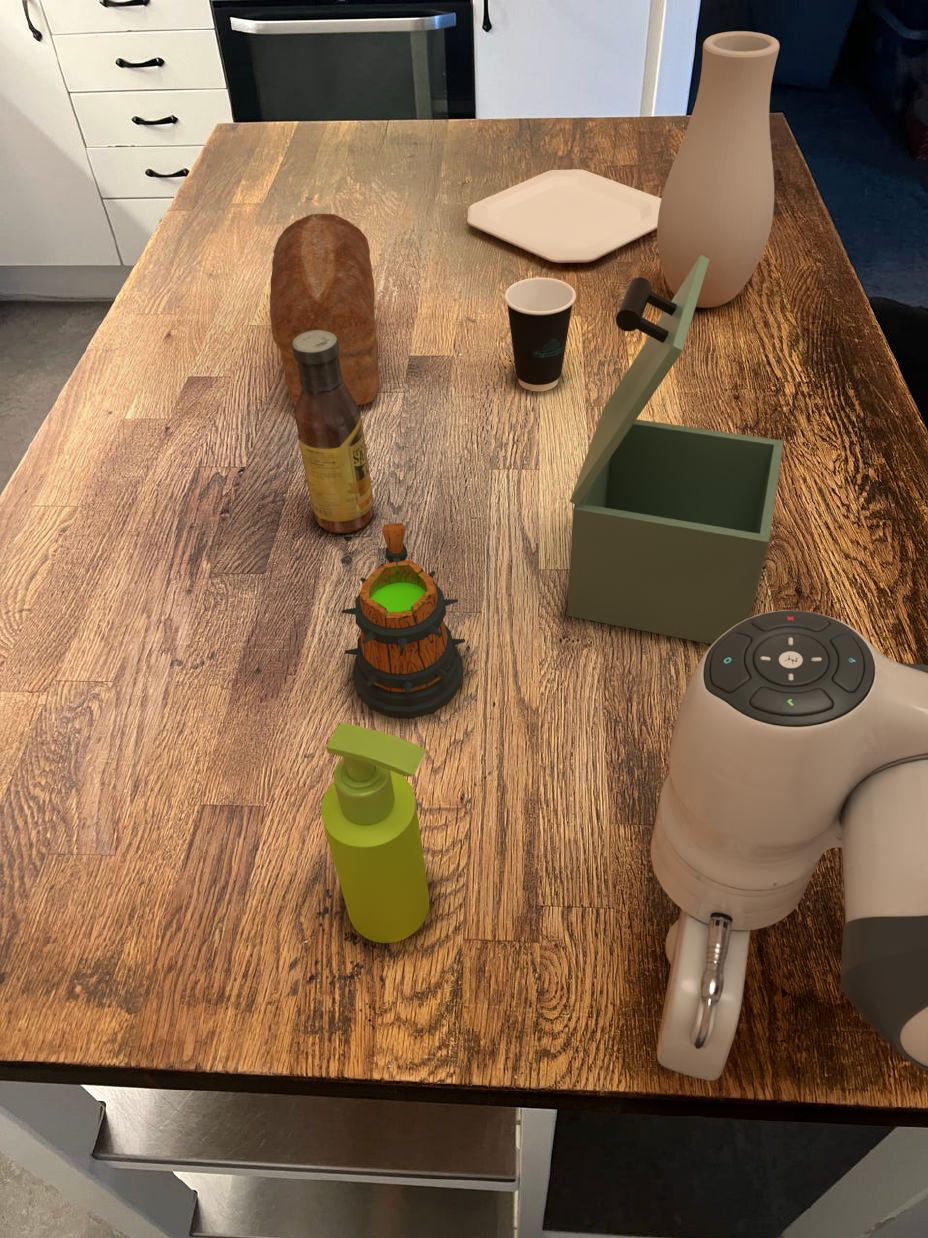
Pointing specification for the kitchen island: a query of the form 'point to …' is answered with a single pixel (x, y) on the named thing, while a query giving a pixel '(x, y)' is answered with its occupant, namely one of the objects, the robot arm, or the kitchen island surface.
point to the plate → (567, 215)
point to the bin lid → (641, 365)
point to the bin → (675, 531)
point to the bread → (326, 299)
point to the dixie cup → (539, 329)
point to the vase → (722, 171)
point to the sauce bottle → (331, 437)
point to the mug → (403, 637)
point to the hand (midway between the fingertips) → (698, 951)
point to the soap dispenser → (376, 832)
